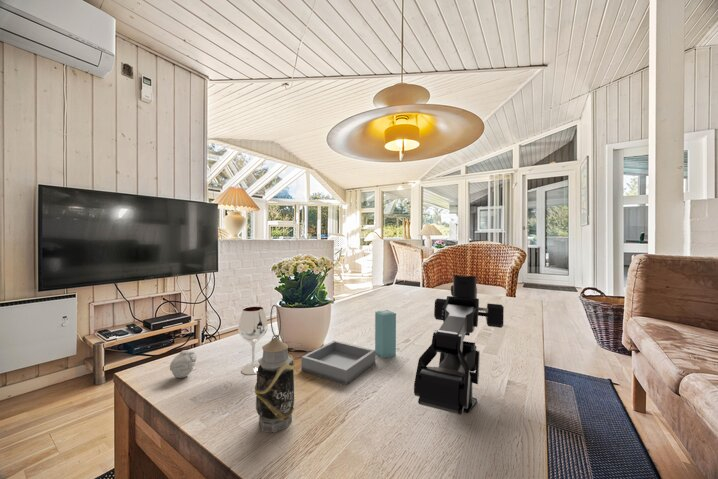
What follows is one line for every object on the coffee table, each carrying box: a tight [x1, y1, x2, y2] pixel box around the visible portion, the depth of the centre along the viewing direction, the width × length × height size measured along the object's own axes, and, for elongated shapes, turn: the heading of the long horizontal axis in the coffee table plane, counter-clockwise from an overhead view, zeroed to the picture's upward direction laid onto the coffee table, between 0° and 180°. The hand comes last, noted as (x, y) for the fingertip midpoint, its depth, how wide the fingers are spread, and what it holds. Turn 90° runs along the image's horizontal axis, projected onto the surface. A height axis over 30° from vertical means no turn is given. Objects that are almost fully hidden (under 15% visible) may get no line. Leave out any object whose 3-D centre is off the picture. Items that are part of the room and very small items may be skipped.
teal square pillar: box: [374, 309, 397, 359], centre depth 99 cm, size 5×5×14 cm
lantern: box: [254, 304, 296, 433], centre depth 62 cm, size 9×8×25 cm
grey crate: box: [300, 340, 376, 386], centre depth 89 cm, size 16×16×4 cm
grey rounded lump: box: [169, 349, 197, 379], centre depth 82 cm, size 6×7×7 cm
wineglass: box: [237, 306, 269, 376], centre depth 87 cm, size 8×8×18 cm
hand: (470, 310), depth 93 cm, fingers open, 9 cm apart
